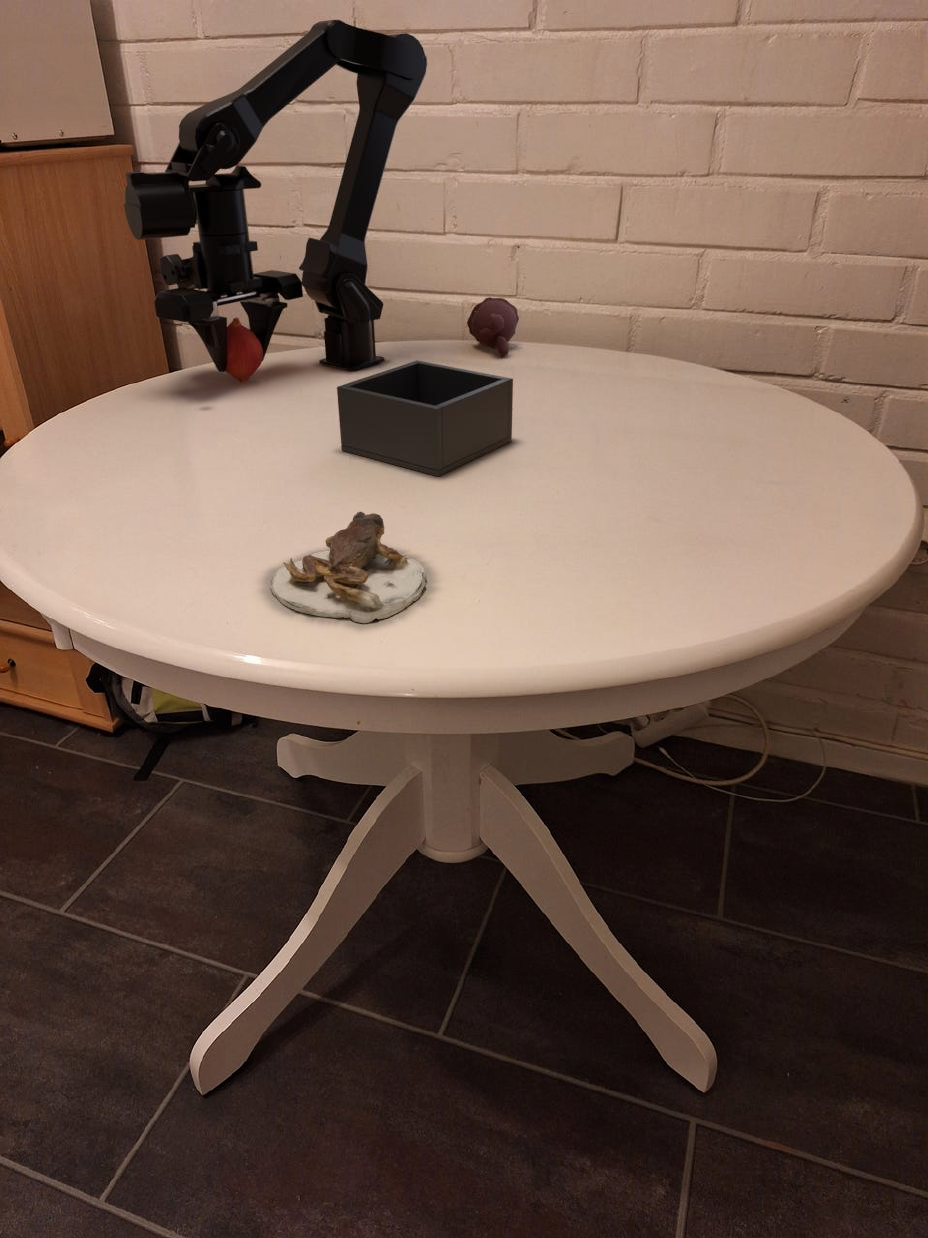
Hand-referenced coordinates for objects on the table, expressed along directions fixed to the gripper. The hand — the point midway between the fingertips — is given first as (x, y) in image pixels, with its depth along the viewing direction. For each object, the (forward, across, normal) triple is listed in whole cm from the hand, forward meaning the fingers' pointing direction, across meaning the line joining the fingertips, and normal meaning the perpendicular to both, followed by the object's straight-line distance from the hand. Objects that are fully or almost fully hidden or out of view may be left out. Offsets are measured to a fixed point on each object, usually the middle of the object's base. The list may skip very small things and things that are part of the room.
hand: (241, 366), depth 114 cm
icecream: (+2, -34, +15) cm, 37 cm away
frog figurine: (+2, +32, +48) cm, 58 cm away
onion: (+2, 0, 0) cm, 2 cm away
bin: (+2, +5, +34) cm, 34 cm away
